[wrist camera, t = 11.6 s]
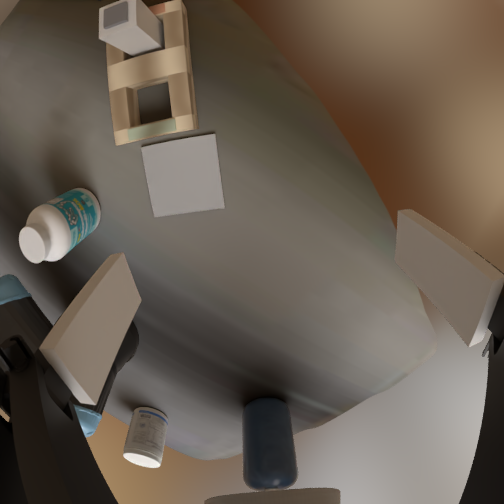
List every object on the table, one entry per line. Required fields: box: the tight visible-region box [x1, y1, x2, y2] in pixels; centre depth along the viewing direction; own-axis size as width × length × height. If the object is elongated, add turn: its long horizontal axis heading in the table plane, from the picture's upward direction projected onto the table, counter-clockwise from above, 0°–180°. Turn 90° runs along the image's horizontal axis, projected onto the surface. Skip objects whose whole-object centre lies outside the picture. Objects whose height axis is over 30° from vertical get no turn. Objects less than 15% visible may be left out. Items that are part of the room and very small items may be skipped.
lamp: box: [205, 397, 340, 504], centre depth 38 cm, size 25×25×43 cm
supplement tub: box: [123, 407, 168, 468], centre depth 53 cm, size 10×10×15 cm
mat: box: [141, 134, 225, 217], centre depth 35 cm, size 10×10×1 cm
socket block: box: [106, 0, 199, 146], centre depth 27 cm, size 10×18×4 cm, turn 6°
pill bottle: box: [19, 188, 101, 263], centre depth 30 cm, size 8×7×14 cm
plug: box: [99, 0, 165, 57], centre depth 21 cm, size 4×4×13 cm
